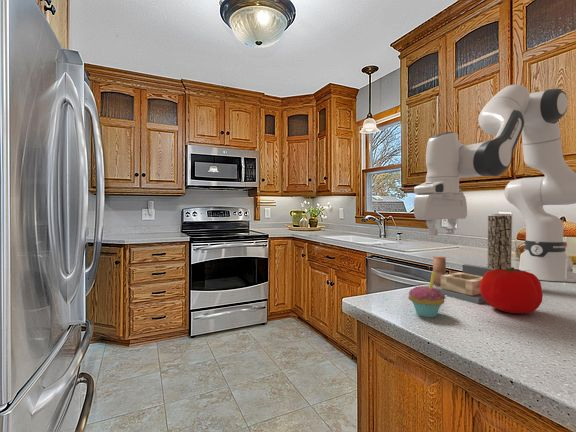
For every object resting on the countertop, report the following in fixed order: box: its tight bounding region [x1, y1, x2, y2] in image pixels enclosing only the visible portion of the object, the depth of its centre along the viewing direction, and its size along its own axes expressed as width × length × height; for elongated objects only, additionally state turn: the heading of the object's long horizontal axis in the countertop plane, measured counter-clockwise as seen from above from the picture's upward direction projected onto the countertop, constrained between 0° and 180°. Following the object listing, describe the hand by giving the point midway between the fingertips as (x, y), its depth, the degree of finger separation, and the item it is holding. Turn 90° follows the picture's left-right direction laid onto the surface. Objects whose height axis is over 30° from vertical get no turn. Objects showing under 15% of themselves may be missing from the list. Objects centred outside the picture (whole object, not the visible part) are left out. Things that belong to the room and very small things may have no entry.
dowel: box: [432, 255, 447, 287], centre depth 108 cm, size 4×4×10 cm
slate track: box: [434, 263, 494, 305], centre depth 97 cm, size 18×14×8 cm
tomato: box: [480, 266, 544, 314], centre depth 81 cm, size 12×13×12 cm
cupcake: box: [408, 269, 446, 318], centre depth 79 cm, size 9×8×12 cm
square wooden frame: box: [440, 271, 483, 296], centre depth 96 cm, size 10×10×4 cm
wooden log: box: [487, 213, 513, 269], centre depth 107 cm, size 7×7×25 cm
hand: (441, 234), depth 91 cm, fingers open, 6 cm apart
